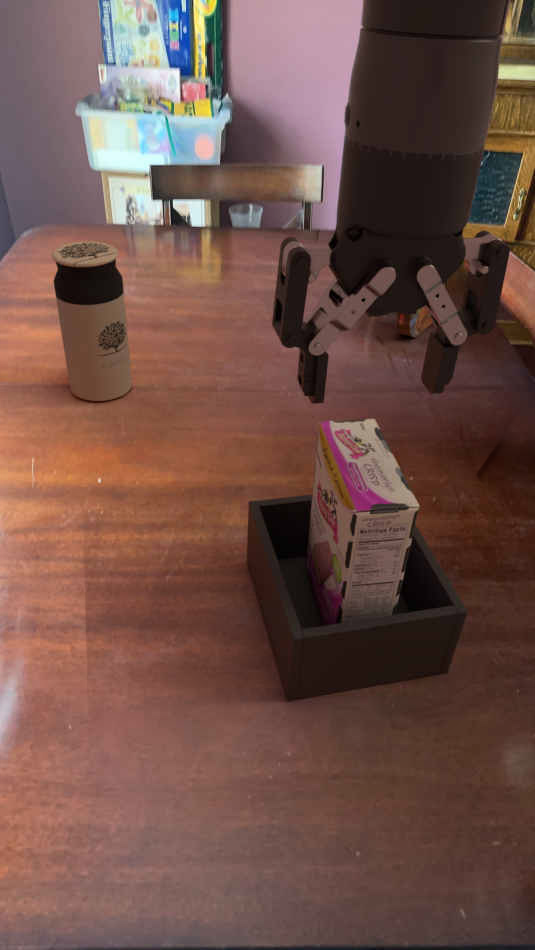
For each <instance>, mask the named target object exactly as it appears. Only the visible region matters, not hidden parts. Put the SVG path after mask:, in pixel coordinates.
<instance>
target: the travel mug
mask: <svg viewBox="0 0 535 950" xmlns="http://www.w3.org/2000/svg"><path fill="white" fill-rule="evenodd" d="M118 256H119V251H118V249H117V248H116V247H115V246H114V245H111V244H109V243H106V242H100V241H91V240H89V241H87V240H86V241H85V240H83V241H74V242H69V243H65V244H62V245H59V246H57V247H56V248H54V249H53V250H52V252H51V258H52V260H53V261H54V262H55V265H56V268H57V270H56V273H55V275H54V278H53V287H54V293H55V299H56V306H57V312H58V319H59V326H60V332H61V339H62V345H63V350H64V351H63V352H64V358H65V364H66V372H67V376H68V384H69V389H70V392H71V393H72V394H73V395H74V396H75V397H77V398H79V399H82V400H86V401H93V402H103V401H111V400H115V399H117V398H120V397H123V396H124V395H125V394H127V393H129V391H130V390H131V389H132V386H133V378H132V366H131V355H130V345H129V335H128V334H129V333H128V321H127V310H126V302H125V300H126V299H125V289H124V278H123V276H122V274H121V272H120V270H119V269H118V268H117V258H118Z"/></svg>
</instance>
